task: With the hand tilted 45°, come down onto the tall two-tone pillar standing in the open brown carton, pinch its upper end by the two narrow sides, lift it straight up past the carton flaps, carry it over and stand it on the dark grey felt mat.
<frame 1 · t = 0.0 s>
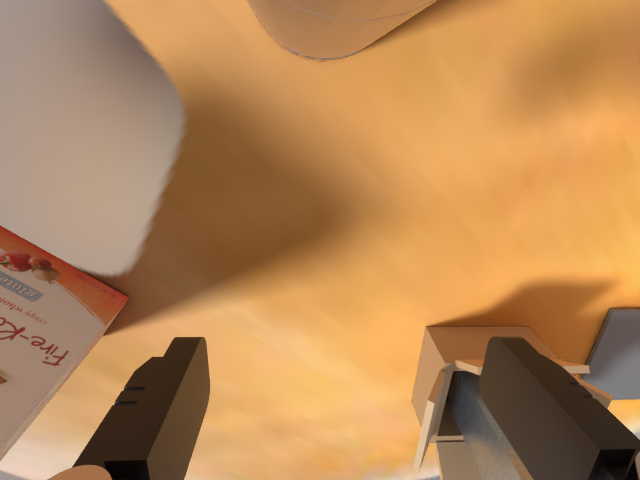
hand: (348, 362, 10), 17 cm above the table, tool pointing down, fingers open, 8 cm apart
carton: (467, 365, 33), on the table
tall two-tone pillar: (507, 431, 27), in the carton
cracker box: (33, 270, 27), on the table
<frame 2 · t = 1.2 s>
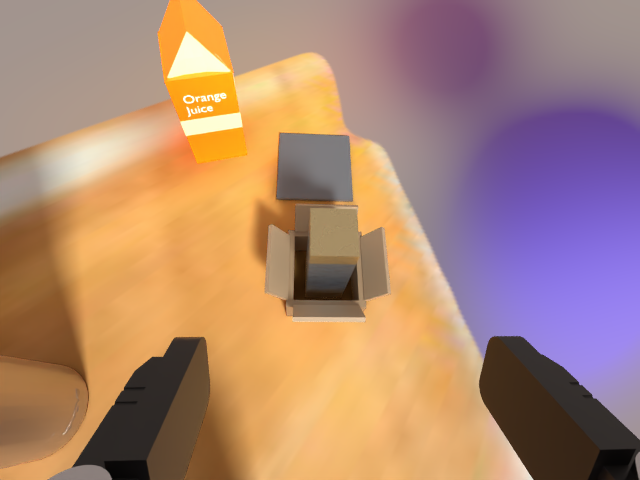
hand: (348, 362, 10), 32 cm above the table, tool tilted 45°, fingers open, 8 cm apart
carton: (322, 279, 45), on the table
orange juice: (218, 138, 54), on the table
felt mat: (314, 166, 52), on the table
tall two-tone pillar: (327, 259, 39), in the carton
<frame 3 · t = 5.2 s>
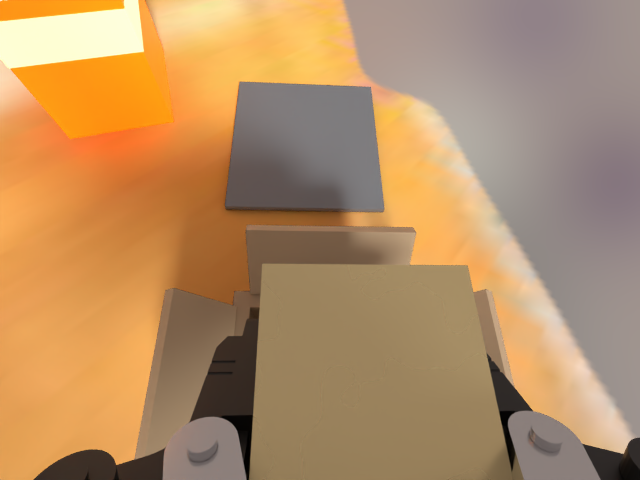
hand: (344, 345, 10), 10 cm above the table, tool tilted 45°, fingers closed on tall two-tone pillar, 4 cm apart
carton: (323, 399, 19), on the table
orange juice: (122, 92, 28), on the table
felt mat: (305, 143, 27), on the table
tall two-tone pillar: (336, 397, 13), in the carton, touching gripper
when the fingers open (12 cm above the table, at t = 11.3 s): tall two-tone pillar drops 1 cm, resting on felt mat.
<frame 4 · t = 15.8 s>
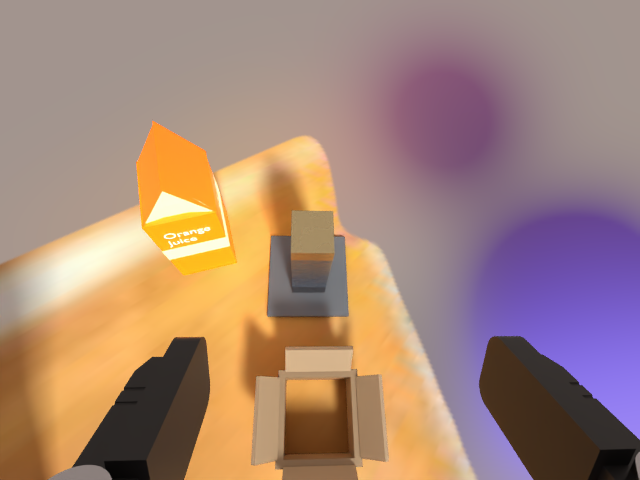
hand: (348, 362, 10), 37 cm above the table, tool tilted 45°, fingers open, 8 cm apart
carton: (316, 415, 42), on the table
orange juice: (206, 242, 51), on the table
felt mat: (308, 274, 49), on the table
tall two-tone pillar: (310, 256, 43), on the felt mat
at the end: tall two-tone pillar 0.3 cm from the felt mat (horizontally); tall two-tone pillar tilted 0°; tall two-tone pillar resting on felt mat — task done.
